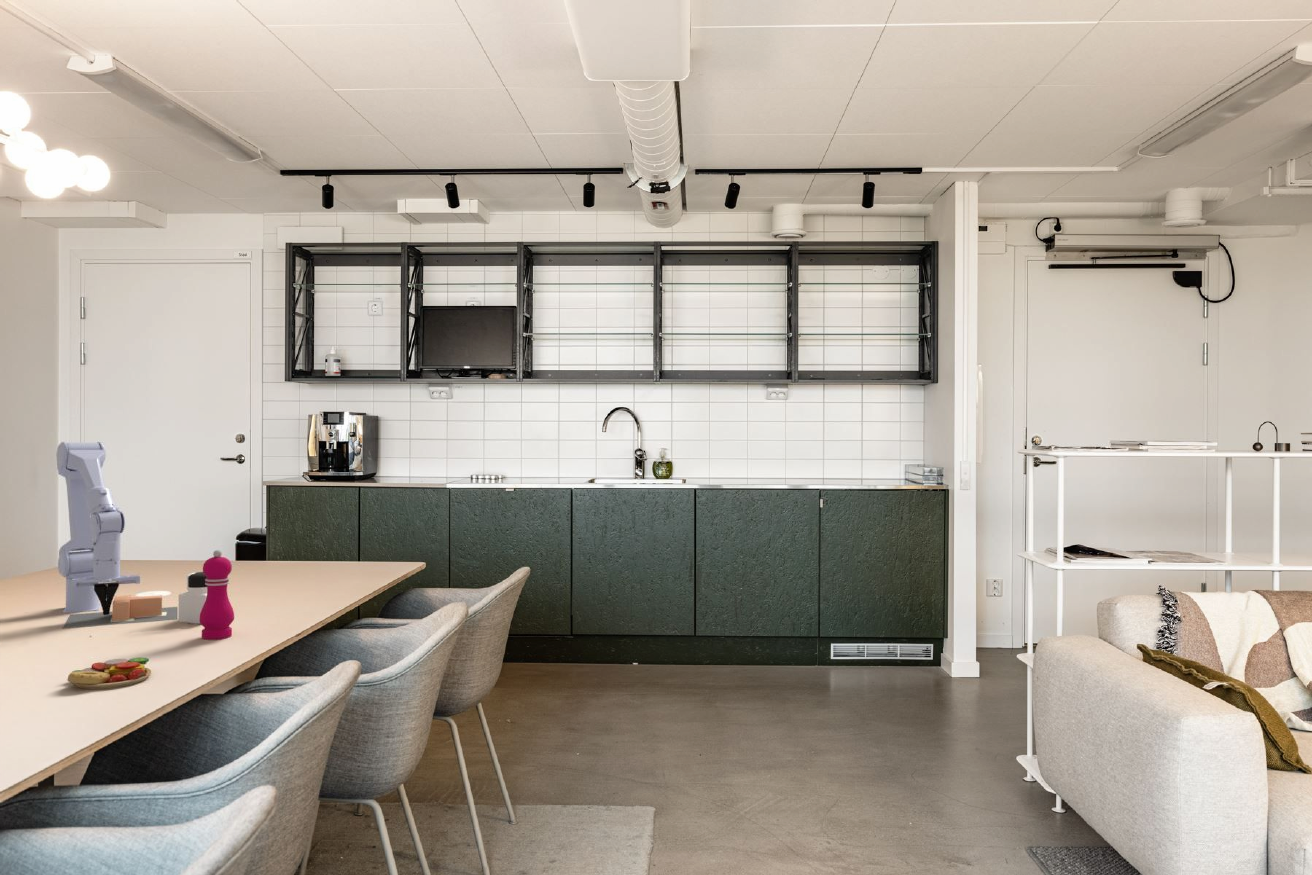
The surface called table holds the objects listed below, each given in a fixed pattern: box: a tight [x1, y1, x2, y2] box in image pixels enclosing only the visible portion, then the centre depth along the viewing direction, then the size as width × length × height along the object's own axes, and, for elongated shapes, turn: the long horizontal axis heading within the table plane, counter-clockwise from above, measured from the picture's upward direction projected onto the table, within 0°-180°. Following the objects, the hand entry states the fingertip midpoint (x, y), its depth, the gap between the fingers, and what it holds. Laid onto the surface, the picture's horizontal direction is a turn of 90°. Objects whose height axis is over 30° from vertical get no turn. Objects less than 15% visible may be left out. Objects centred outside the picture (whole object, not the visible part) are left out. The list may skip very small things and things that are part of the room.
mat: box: [61, 606, 179, 630], centre depth 224 cm, size 18×24×1 cm
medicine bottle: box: [177, 571, 207, 625], centre depth 222 cm, size 7×7×12 cm
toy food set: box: [66, 657, 152, 690], centre depth 169 cm, size 13×13×3 cm
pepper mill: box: [199, 549, 235, 641], centre depth 205 cm, size 7×7×20 cm
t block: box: [111, 594, 163, 621], centre depth 225 cm, size 10×10×4 cm
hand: (106, 614), depth 222 cm, fingers closed
